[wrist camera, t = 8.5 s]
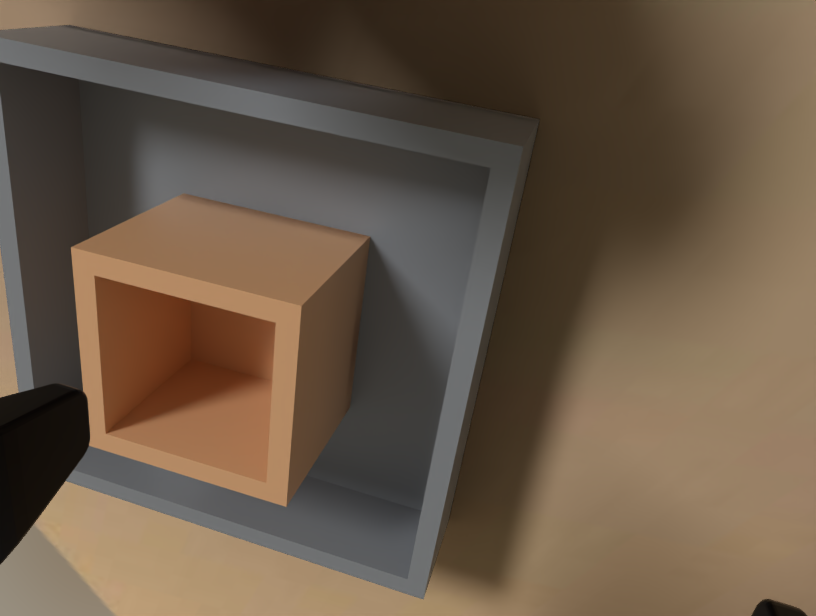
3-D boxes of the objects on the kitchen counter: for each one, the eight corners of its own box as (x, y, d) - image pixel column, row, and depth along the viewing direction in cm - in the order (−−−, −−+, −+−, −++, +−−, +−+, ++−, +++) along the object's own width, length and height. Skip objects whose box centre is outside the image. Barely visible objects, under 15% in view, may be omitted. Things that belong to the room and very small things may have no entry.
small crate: (370, 236, 20) (301, 306, 16) (350, 407, 23) (286, 506, 19) (183, 193, 21) (70, 247, 17) (184, 361, 24) (87, 445, 20)
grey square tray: (539, 118, 18) (523, 146, 15) (447, 522, 24) (423, 599, 21) (69, 24, 21) (-27, 32, 18) (95, 413, 27) (28, 468, 24)
